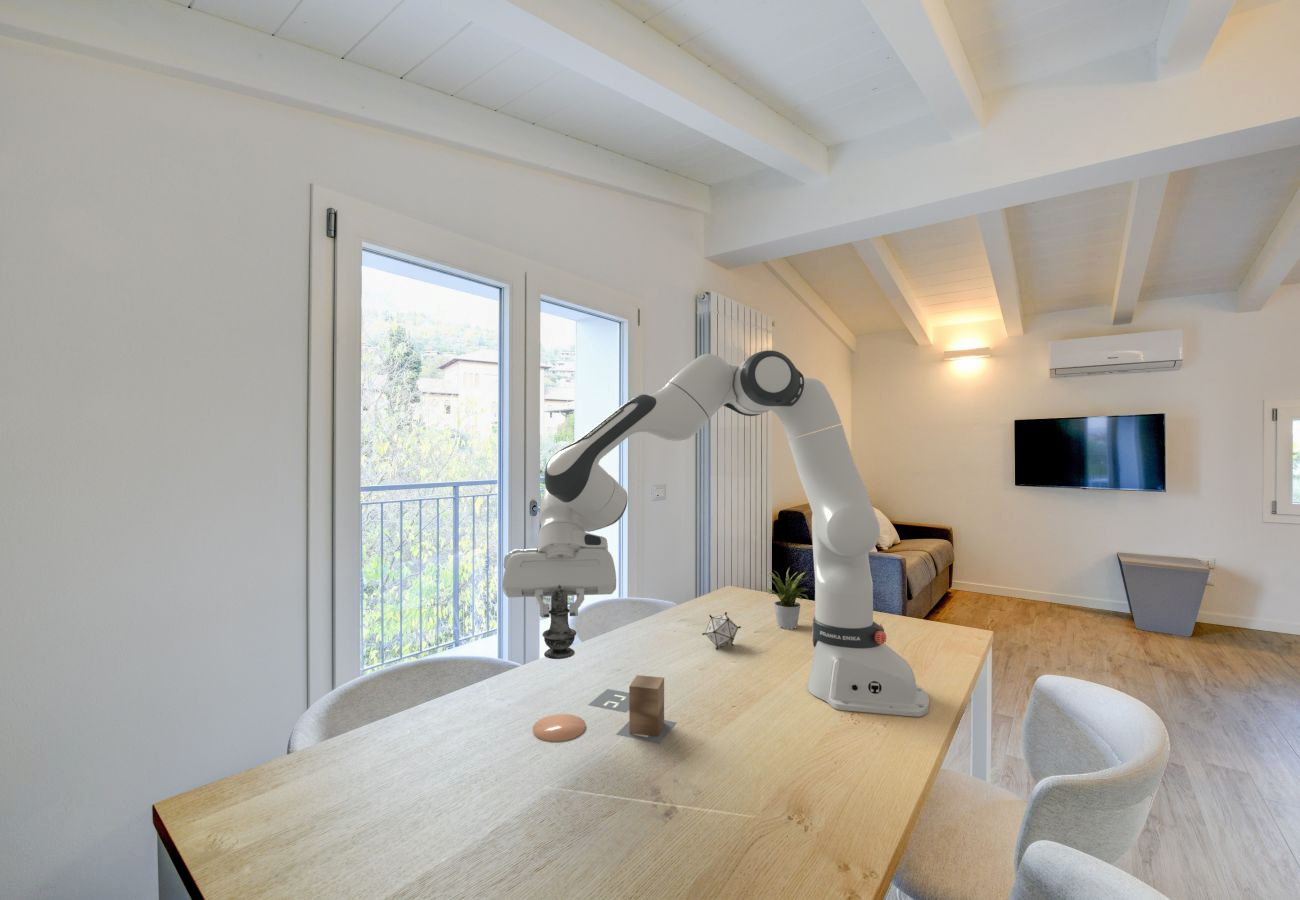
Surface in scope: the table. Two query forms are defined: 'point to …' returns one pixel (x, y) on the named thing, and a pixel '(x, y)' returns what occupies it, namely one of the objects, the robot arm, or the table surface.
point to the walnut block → (646, 705)
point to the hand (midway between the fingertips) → (559, 615)
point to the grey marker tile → (612, 700)
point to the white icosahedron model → (721, 630)
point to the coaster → (559, 727)
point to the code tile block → (664, 731)
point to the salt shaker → (559, 628)
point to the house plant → (787, 601)
